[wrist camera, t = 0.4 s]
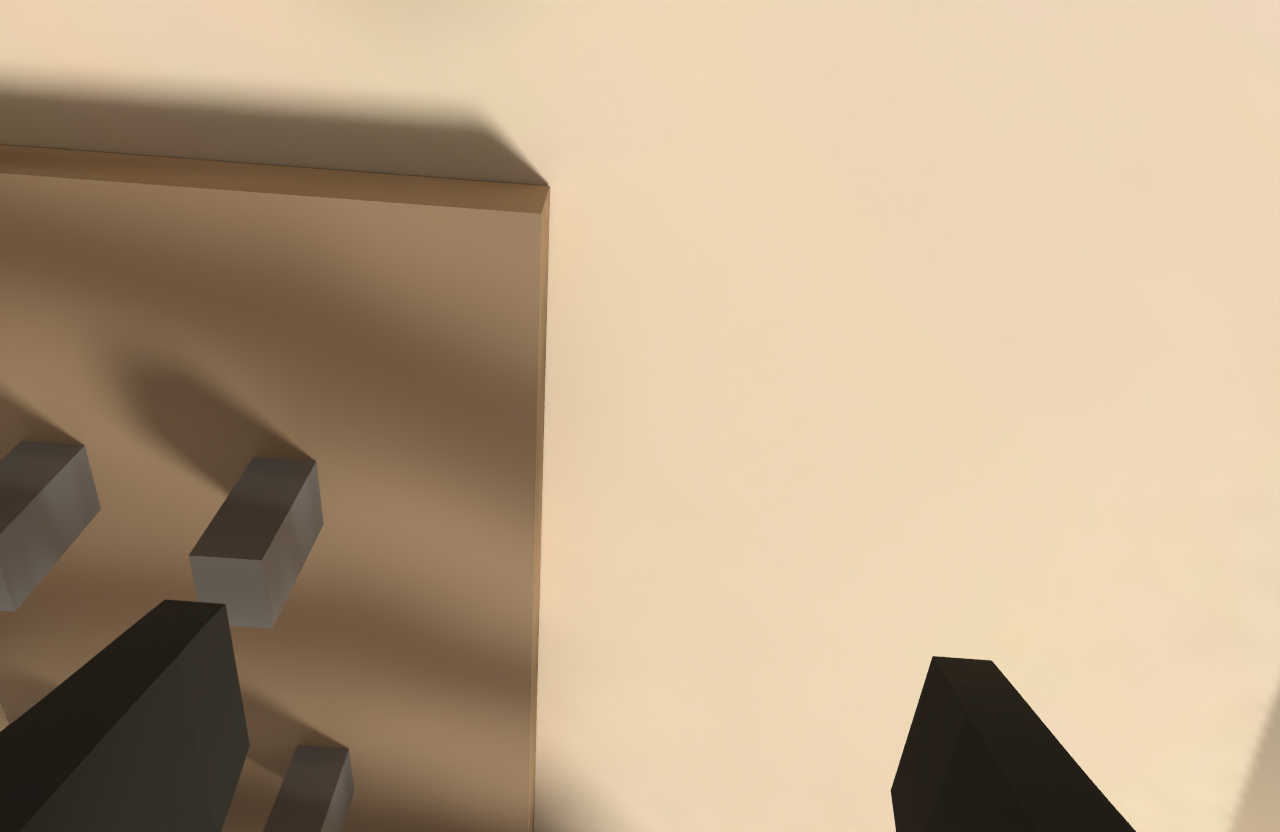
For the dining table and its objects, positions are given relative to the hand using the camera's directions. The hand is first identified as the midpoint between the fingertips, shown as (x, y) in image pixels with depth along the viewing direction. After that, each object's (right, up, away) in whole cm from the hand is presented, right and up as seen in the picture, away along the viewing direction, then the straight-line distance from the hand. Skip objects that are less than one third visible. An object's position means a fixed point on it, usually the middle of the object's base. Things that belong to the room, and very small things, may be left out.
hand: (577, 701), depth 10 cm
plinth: (-8, -1, +12) cm, 14 cm away
